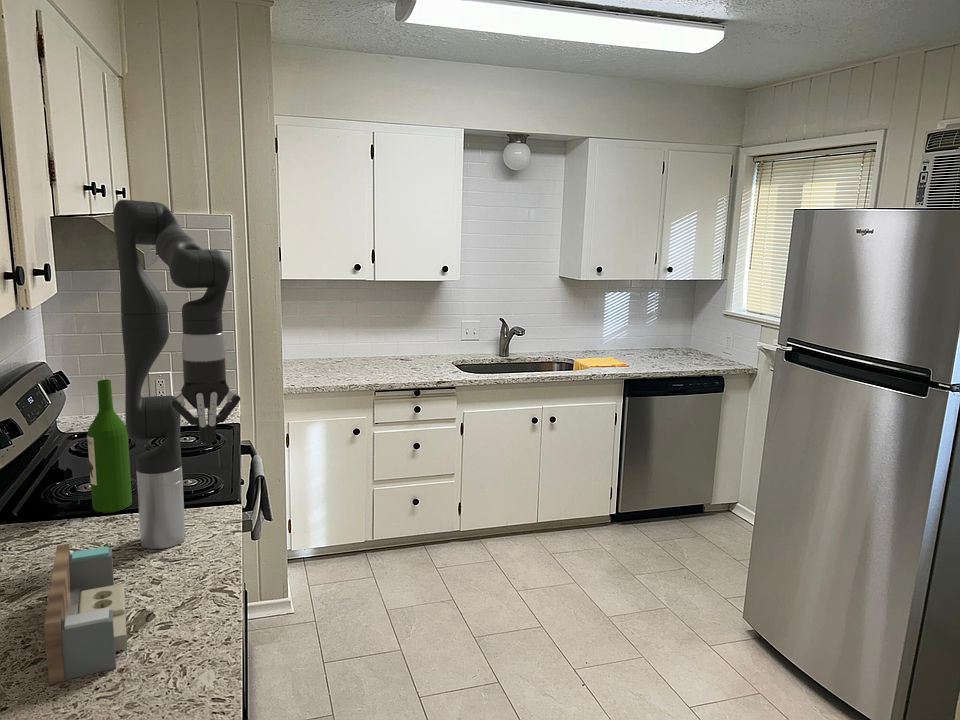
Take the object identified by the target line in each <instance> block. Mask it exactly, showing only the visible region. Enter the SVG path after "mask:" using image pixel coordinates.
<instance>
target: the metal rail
mask: <svg viewBox="0 0 960 720" xmlns="http://www.w3.org/2000/svg"><path fill="white" fill-rule="evenodd" d="M80 592H81V591H80V584H79V585H73V586H71V588H70V598H69V607H68V616H71V615H76V614H78V613H79V601H80Z"/></svg>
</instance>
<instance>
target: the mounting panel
mask: <svg viewBox="0 0 960 720" xmlns="http://www.w3.org/2000/svg"><path fill="white" fill-rule="evenodd" d="M70 554H71V547H70V543H64V544H57V545H56V550H55V556H54V561H53V567H52V575H51V581H50V586H49V593H48V599H47V603H46V604H47V605H46V611H45V617H44V623H43V628H44V629H43V630H44V639H45V649H46V662H47V671H48V673H47V674H48V685H49V686H52V685H56V684H60V683H61V684H62V683H66V682H65V681H66V680H65V677H64V665H63V652H62V640H61V626H62V619H65V617H66V616H68V607H69V598H70V588H71V583H70V570H69V558H70Z"/></svg>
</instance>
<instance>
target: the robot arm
mask: <svg viewBox="0 0 960 720" xmlns="http://www.w3.org/2000/svg"><path fill="white" fill-rule="evenodd" d="M113 208H114V209H113V215H112V216H113V217H112V218H113V232H114V233H113V234H114V239H115V247H116V255H117V264H118V271H119V284H120V288H119V289H120V317H121V319H120V320H121V332H122V333H121V334H122V344H123V346H122V347H123V354H124V367H125V368H124V369H125V371H124V372H125V384H124V385H125V389H124V390H125V393H124V396H125V397H124V398H125V399H124V401H125V406H124V407H125V408H124V411H125V412H124V413H125V425H126V429H127V433H128V438H129V439H130V440H133V441H140V440H141V441H142V440H155V439H164V440H163V442H161V443H159V445H157V446H155V447H154V448H151V449H149V450H147V451H144V452H142V453H140V454H139V455H138V456H137V457H136V458H135V471H136V472H135V474H136V486H137V487H136V489H137V503H138V505H137V506H138V521H139V534H140V545H141V547H143V548H144V549H145V548H146V549H150V550H160V549H168V548H171V547H175V546H178V545H179V544H181V543H183V542H184V541H185V540H186V525H185V523H186V521H185V504H184V503H185V502H184V484H183V483H184V482H183V479H184V478H183V466H182V465H183V464H182V463H183V461H182V449H181V417H183V419H184V420H186V422H188V424H190V425H191V426H197V427H198V433H199V441H200V442H201V444H203V445H204V446H212V445H213V443H214V442H216V440H217V433H216V432H217V431H216V427H217V425H218V424H220V423H224V422H225V421H226V420H227V418H228V417H229V416H230V414H231V413H232V412H233V410H234V409H235V408H236V407H237V405H238V404H239V403H240V401H241V396H239V394H238V393H234V392H232V391H231V390H230V387H229V385H228V383H227V375H226V374H227V371H226V370H227V369H226V347H225V346H226V345H225V339H224V331H223V330H224V329H223V308H224V303H225V296H226V293H227V289H228V286H229V281H230V278H231V269H232V268H231V263H230V260H229V258H228V256H227V255H226V254H225V253H224V252H223V251H221V250H219V249H203V248H202V246H201V245H200V243H198V242H197V241H196V240H195V239H194V238H192V237H191V236H190V235H188V233H186V232H185V231H184V229H183V227H182V226H181V224H180V223H179V221H178V219H177V218H176V217H175V214H174V213H173V212H172V211H171V209H170V208H169V207H168V206H167V205H165V204H163V203H160V202H157V201H146V200H134V199H133V200H132V199H120V200H118V201H117V202H116V203H115V205H114V207H113ZM137 245H141V246H143V245H144V246H155V252H156V254H157V255H158V257H159V258H160V260H161V261H162V262H163V263H165V265H167V266H168V270H169V276H170V279H171V281H172V283H173V284H174V285H175V286H177V287H180V288H182V289H183V288H184V289H205V288H206V291H205V293H204V294H203V296H202V297H200V298H197V299H194V300H191V301H187V302H185V303H183V305H182V308H181V320H182V341H181V342H182V343H181V349H182V350H181V352H182V353H181V354H182V372H183V385H182V388H181V390H180V391H181V392H180V394H179V395H177V396H175V395H161V396H160V395H158V396H142V389H143V385H144V382H145V380H146V377H147V376H148V373H149V372H150V370H151V368H152V366H153V365H154V363H155V361H156V360H157V358H158V357H159V355H160V354H161V353H162V351H163V349H164V348H165V345H166V343H167V342H168V339H169V336H170V324H169V323H170V322H169V308H168V304H167V302H166V300H165V298H164V297H163V295H162V293H161V292H160V290H158V288H157V287H156V285H155V284H154V283H153V282H152V280H151V279H150V278H149V275H148V274H147V273H146V271H145V270H144V268H143V266H142V264H141V261H140V258H139V254H138V250H137ZM224 399H225V401H226V403H225V405H224V406H223V407H222V408H221V409H220V411H219V413H218V414H217V409H218V407H219V406H221V404H222V402H223V401H224ZM185 400H186V401H187V402H188V404H190V405H191V406H192V408H193V409H196V414H197V416H194V414H192V413H191V412H190V411H189V410H188V408H186V407H185V406H186V401H185ZM206 409H207V417H206ZM206 418H207V419H206Z"/></svg>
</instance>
